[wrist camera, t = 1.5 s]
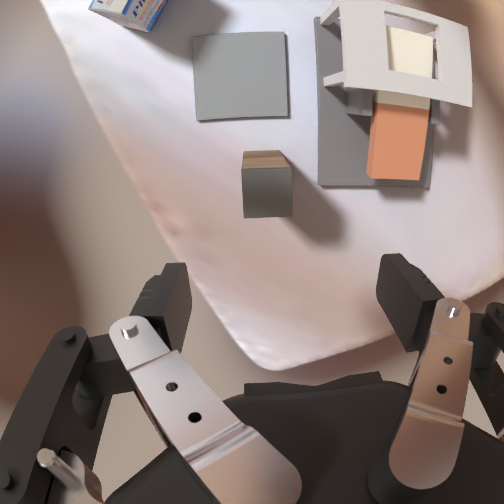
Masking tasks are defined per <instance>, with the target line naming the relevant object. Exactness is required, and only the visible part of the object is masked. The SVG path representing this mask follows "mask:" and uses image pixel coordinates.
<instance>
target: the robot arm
mask: <svg viewBox="0 0 504 504" xmlns="http://www.w3.org/2000/svg"><path fill="white" fill-rule="evenodd" d="M376 296H377V300H378V302H379V304H380V305H381V307H382V309H383V311H384V312H385V314H386V316H387V318H388V319H389V321H390V323H391V325H392V326H393V328H394V330H395V332H396V334H397V335H398V337H399V339H400V341H401V342H402V345H403V346H404V348H405V350H406V352H413V351H419V355H418V358H417V360H416V363H415V366H414V369H413V372H412V375H411V378H410V380H409V383H408V386H406V385H403V384H400V383H397V382H392V381H383V380H382V378H381V375H380V373H379V371H376V372H370V373H363V374H356V375H349V376H346V377H343V378H340V379H337V380H334V381H331V382H328V383H325V384H322V385H318V386H308V385H298V384H290V383H282V382H271V383H247V384H244V394H240V395H236V396H234V397H230V398H228V399H226V400H224V401H221V400H220V399H219V398H218V397H217V396H216V394H215V393H214V392H213V391H212V390H211V389H210V388H209V387H208V385H207V384H206V383H205V382H204V381H203V380H202V379H201V377H200V376H199V375H198V374H197V373H196V372H195V370H194V369H193V368H192V367H191V366H190V365H189V364H188V362H187V361H186V360H185V359H184V357H183V356H182V355H181V351H182V347H183V342H184V338H185V334H186V330H187V326H188V322H189V318H190V314H191V309H192V297H191V291H190V284H189V278H188V272H187V266H186V264H185V263H167V264H166V265H165V267H164V269H163V271H162V273H161V275H155V276H153V277H152V278H151V279H150V280H149V281H147V282H146V284H145V286H144V288H143V290H142V292H141V293H140V296H139V298H138V299H137V301H136V303H135V305H134V307H133V309H132V311H131V313H130V315H129V316H128V317H124V318H122V319H120V320H118V321H116V322H115V323H114V324H113V325H112V326H111V328H110V330H109V334H105V335H100V336H95V337H88V335H87V333H86V331H85V329H83V328H82V327H78V326H72V327H67V328H65V329H62V330H61V331H59V332H58V333H57V334H55V336H54V337H53V338H52V340H51V342H50V343H49V345H48V347H47V349H46V350H45V352H44V354H43V355H42V357H41V359H40V361H39V362H38V364H37V366H36V368H35V370H34V372H33V374H32V375H31V377H30V379H29V381H28V383H27V385H26V387H25V389H24V391H23V393H22V395H21V397H20V399H19V401H18V403H17V405H16V407H15V409H14V411H13V413H12V415H11V417H10V420H9V422H8V424H7V426H6V429H5V431H4V433H3V435H2V438H1V440H0V504H504V373H503V371H502V369H501V368H500V366H499V365H498V363H497V361H496V359H497V357H498V355H499V353H500V351H501V350H502V351H503V353H504V304H502V303H498V302H492V303H489V304H488V305H487V308H486V310H485V313H484V314H480V313H470V310H469V308H468V306H467V305H466V304H464V303H463V302H461V301H460V300H457V299H454V298H445V297H444V296H443V295H442V293H441V292H440V291H439V290H438V289H437V288H436V286H435V285H434V284H433V283H431V281H430V280H429V278H427V276H426V275H425V274H424V273H423V272H422V271H421V270H420V269H419V268H417V267H415V266H414V265H412V264H410V263H409V262H408V261H407V260H406V259H405V258H404V257H403V256H402V255H401V254H400V253H397V254H384V255H383V256H382V258H381V262H380V268H379V274H378V280H377V286H376ZM469 379H470V381H471V383H472V385H473V387H474V389H475V390H476V392H477V394H478V397H479V399H480V401H481V402H482V404H483V406H484V408H485V411H486V413H487V414H488V417H489V419H490V421H491V423H492V425H493V428H494V430H495V432H496V435H497V438H495V437H494V436H492V435H490V434H489V433H487V432H485V431H483V430H481V429H480V428H478V427H476V426H475V425H473V424H471V423H470V422H468V421H466V420H464V419H463V412H464V407H465V401H466V395H467V390H468V383H469ZM131 391H134V393H135V395H136V397H137V399H138V400H139V402H140V404H141V406H142V407H143V409H144V411H145V412H146V414H147V416H148V417H149V419H150V421H151V422H152V424H153V425H154V427H155V429H156V431H157V432H158V434H159V436H160V437H161V439H162V441H163V442H164V444H165V445H166V447H167V448H166V449H165V450H164V451H163V452H162V453H161V454H160V455H158V456H157V457H156V458H155V459H154V460H152V461H151V462H150V463H149V464H148V465H146V466H145V467H144V468H143V469H141V470H140V471H139V472H138V473H137V474H135V475H134V476H133V477H132V478H130V479H129V480H128V481H127V482H125V483H124V484H123V485H122V486H120V487H119V488H118V489H117V490H115V491H114V492H113V493H112V494H111V495H110V496H109V497H108V498H107V500H106V501H105V502H103V499H102V486H101V482H100V480H99V478H98V477H97V475H96V474H94V473H93V471H92V469H93V465H94V461H95V457H96V453H97V449H98V445H99V441H100V437H101V434H102V430H103V426H104V423H105V419H106V415H107V412H108V408H109V405H110V401H111V398H112V395H113V394H119V393H125V392H131Z"/></svg>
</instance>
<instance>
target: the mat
mask: <svg viewBox="0 0 504 504" xmlns="http://www.w3.org/2000/svg"><path fill="white" fill-rule="evenodd" d="M192 51H193V73H194V91H195V107H196V121H197V120H208V119H221V118H236V117H258V116H288V109H287V81H286V58H285V38H284V32H243V33H227V34H215V35H205V36H196V37H192Z"/></svg>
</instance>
